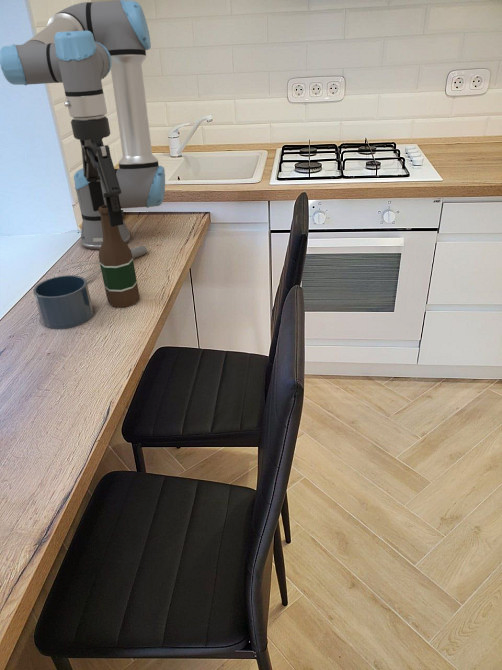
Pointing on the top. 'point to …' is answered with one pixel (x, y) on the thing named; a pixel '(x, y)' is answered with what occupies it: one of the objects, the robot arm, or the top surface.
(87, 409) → the top surface
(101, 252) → the beer bottle
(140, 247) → the kitchen whisk
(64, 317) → the metal cup
